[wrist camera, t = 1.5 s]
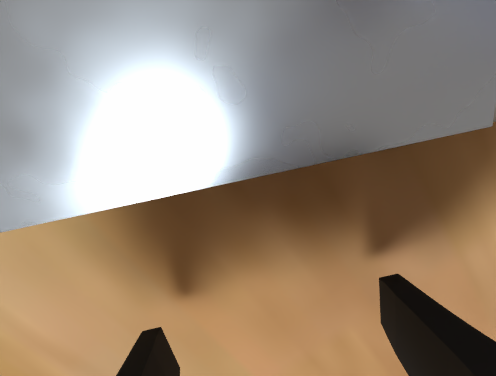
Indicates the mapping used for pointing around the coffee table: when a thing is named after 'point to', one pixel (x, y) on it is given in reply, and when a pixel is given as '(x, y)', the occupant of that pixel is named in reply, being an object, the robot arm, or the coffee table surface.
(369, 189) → the coffee table surface
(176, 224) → the coffee table surface
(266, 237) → the coffee table surface
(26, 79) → the grey piece
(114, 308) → the coffee table surface
